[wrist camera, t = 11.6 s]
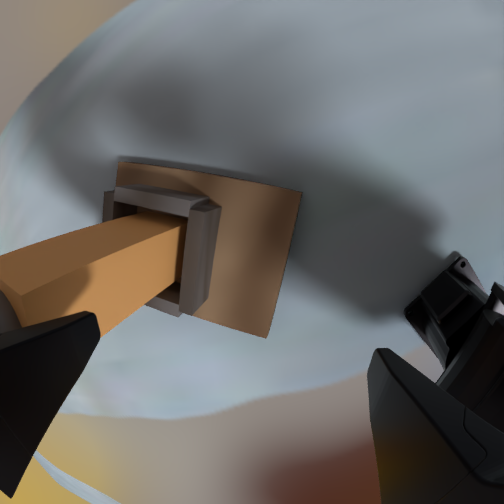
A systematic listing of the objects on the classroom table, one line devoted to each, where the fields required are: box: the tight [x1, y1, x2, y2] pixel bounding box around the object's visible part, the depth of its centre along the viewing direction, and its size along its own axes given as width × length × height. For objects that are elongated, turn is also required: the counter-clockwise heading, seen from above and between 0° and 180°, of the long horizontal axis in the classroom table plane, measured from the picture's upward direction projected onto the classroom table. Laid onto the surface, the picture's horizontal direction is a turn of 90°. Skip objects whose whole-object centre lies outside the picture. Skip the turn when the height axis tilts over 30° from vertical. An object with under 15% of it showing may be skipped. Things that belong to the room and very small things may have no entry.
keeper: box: [103, 162, 302, 338], centre depth 20 cm, size 14×11×4 cm
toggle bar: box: [0, 211, 188, 338], centre depth 14 cm, size 4×4×16 cm
